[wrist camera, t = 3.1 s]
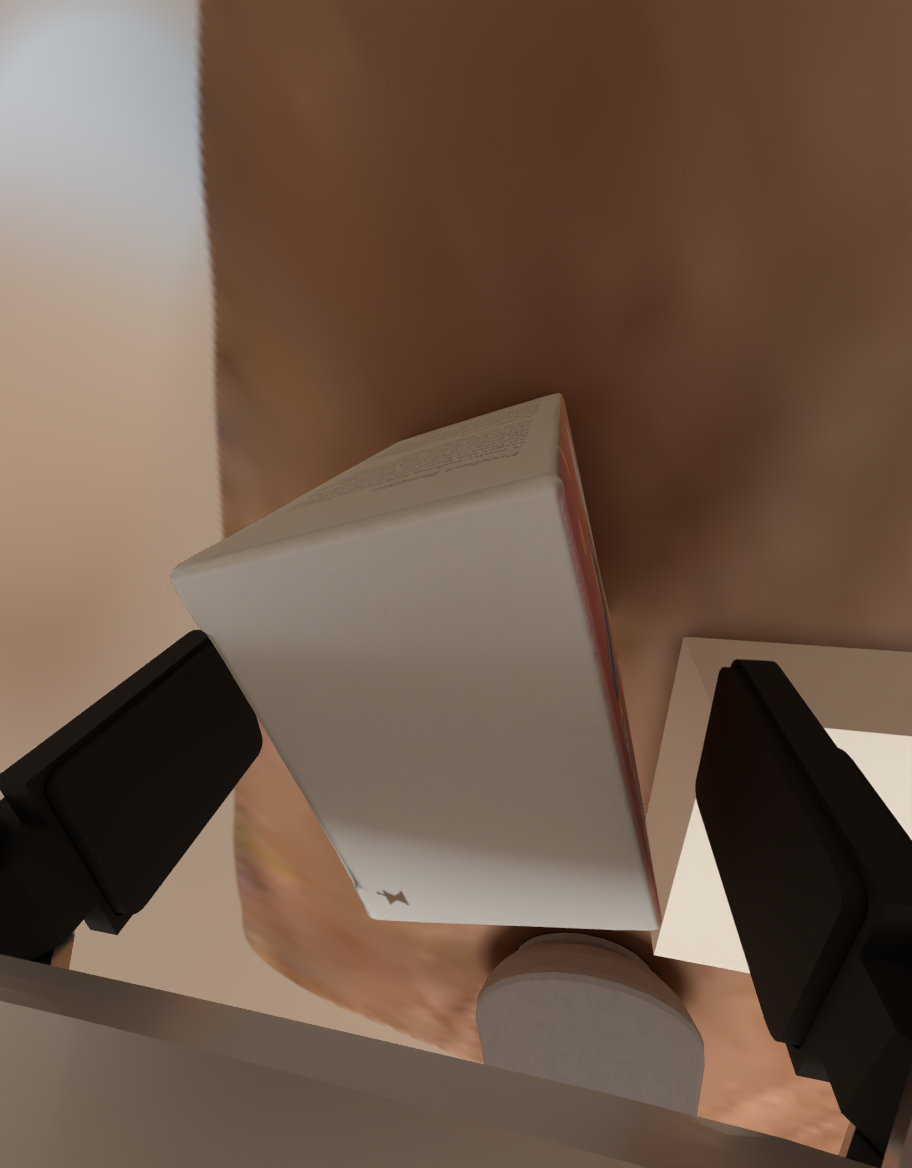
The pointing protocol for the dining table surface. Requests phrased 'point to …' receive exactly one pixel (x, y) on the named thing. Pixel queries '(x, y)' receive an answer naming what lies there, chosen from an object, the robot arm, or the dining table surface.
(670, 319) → the dining table surface
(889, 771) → the cream white block
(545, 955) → the coffee pot
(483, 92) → the dining table surface
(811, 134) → the dining table surface
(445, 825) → the small box
